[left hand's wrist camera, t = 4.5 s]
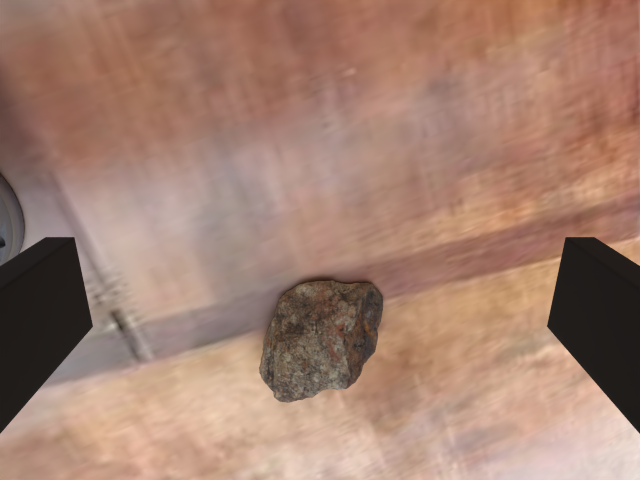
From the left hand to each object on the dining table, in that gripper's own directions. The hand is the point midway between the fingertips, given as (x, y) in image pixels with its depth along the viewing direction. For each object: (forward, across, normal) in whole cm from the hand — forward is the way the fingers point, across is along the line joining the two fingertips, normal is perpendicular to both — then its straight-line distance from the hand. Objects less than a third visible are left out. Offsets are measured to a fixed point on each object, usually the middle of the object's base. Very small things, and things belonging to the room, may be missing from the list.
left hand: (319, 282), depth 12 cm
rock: (+34, 0, +21) cm, 40 cm away
